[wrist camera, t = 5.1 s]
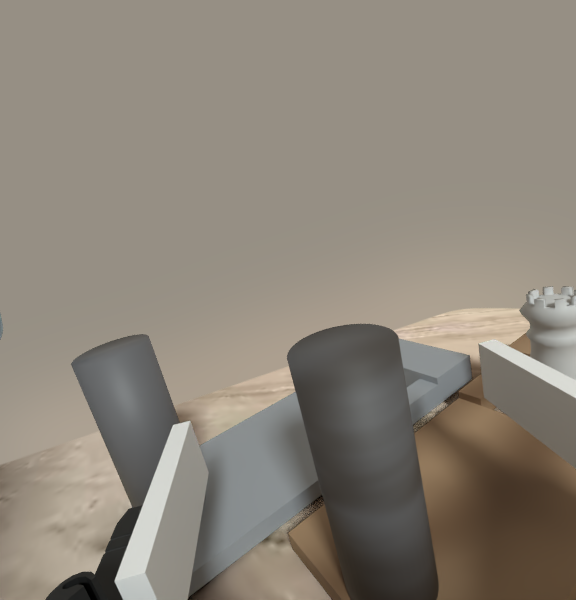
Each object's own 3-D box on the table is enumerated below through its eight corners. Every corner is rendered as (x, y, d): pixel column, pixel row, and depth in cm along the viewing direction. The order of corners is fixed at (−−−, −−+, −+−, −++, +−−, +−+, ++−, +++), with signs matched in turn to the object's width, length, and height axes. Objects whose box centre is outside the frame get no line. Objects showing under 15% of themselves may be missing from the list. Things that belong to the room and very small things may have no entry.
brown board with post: (292, 549, 17) (231, 342, 14) (532, 352, 28) (523, 216, 26) (475, 782, 9) (419, 434, 7) (701, 385, 21) (715, 197, 18)
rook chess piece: (562, 451, 19) (556, 314, 17) (499, 409, 23) (488, 296, 21) (631, 426, 19) (633, 289, 17) (556, 389, 24) (551, 276, 22)
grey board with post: (131, 498, 23) (66, 346, 20) (383, 352, 34) (363, 243, 32) (163, 616, 15) (66, 398, 13) (472, 378, 27) (456, 237, 24)
